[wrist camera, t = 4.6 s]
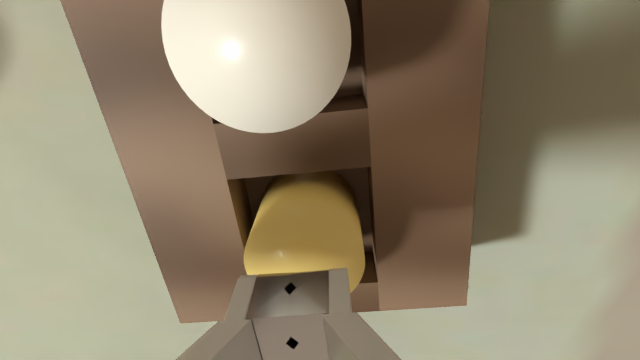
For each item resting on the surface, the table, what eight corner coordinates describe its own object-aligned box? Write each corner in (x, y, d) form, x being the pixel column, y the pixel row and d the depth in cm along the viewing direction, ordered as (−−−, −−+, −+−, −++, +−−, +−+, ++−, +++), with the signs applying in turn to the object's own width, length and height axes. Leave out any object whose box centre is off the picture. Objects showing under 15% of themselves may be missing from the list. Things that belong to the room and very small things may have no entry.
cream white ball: (195, -37, 10) (135, -56, 7) (339, -56, 10) (342, -85, 7) (227, 105, 12) (189, 140, 9) (350, 92, 12) (357, 123, 8)
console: (0, -399, 10) (-163, -600, 6) (470, -503, 9) (550, -793, 6) (205, 270, 19) (180, 323, 16) (442, 252, 18) (466, 305, 15)
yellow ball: (253, 170, 15) (231, 216, 11) (354, 161, 14) (361, 205, 11) (270, 252, 16) (256, 312, 13) (361, 246, 16) (368, 305, 13)
